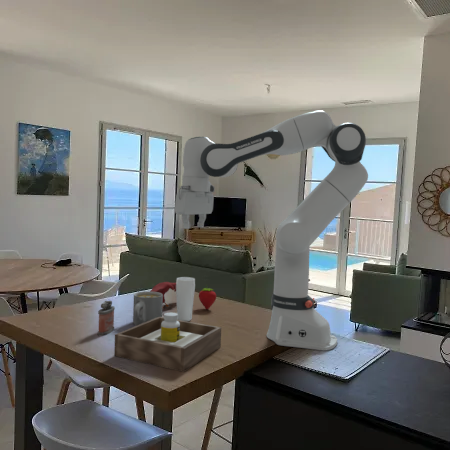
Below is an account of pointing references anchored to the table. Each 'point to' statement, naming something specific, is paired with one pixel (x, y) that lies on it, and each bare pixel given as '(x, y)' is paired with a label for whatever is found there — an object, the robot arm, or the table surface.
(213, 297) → the strawberry
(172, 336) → the supplement bottle
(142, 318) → the coffee mug
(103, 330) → the lighter
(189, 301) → the drinking glass
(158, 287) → the decorative bird sculpture
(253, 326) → the table surface
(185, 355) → the crate
